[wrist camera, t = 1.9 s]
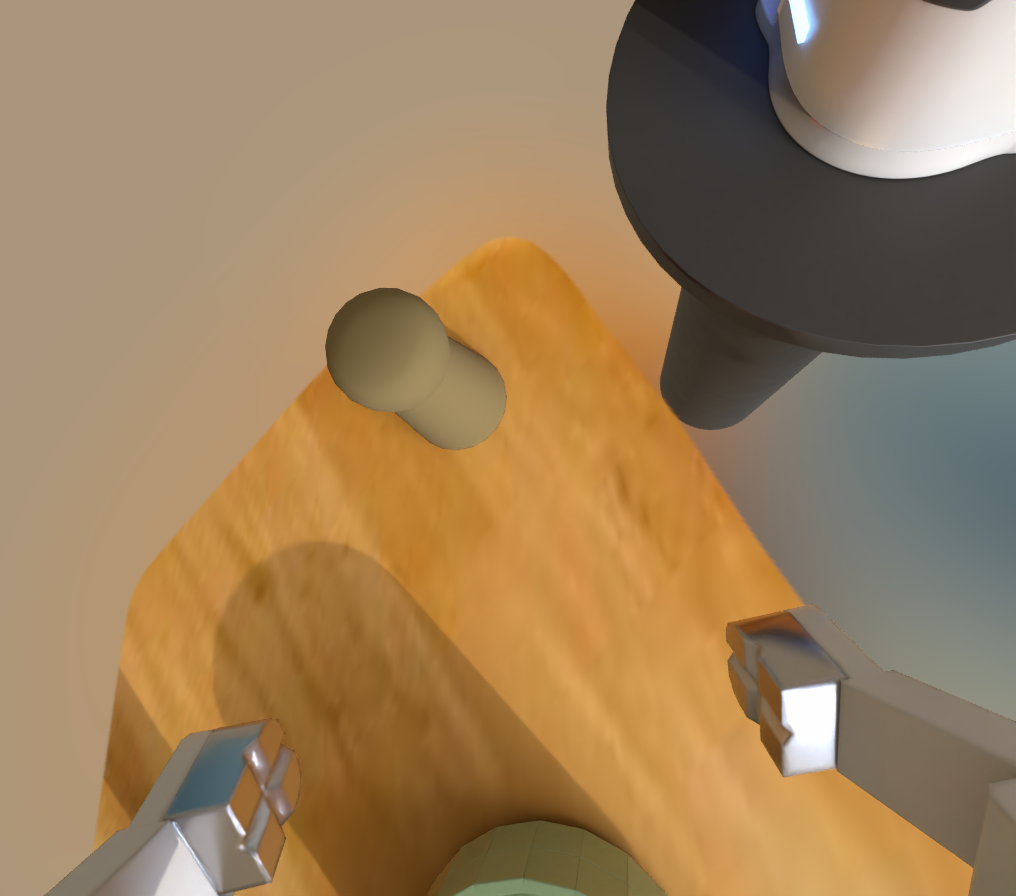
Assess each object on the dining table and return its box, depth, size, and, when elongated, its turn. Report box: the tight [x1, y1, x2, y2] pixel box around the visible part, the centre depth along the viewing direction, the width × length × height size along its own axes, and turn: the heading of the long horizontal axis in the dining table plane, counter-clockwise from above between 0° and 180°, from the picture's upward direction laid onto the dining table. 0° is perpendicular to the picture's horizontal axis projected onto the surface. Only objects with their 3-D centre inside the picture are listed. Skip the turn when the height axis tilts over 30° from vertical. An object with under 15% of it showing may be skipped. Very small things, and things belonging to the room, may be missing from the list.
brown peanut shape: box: [325, 288, 506, 450], centre depth 26 cm, size 6×6×11 cm
